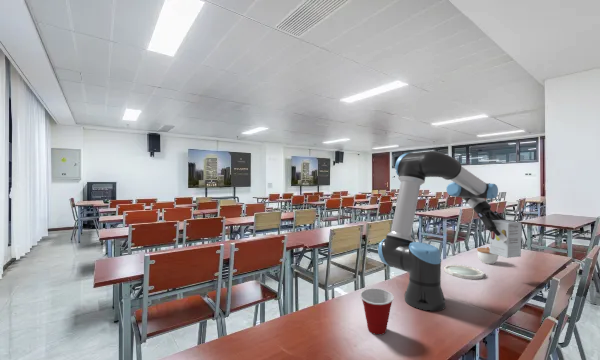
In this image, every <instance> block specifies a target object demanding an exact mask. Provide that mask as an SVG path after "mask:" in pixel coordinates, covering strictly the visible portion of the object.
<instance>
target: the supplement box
mask: <svg viewBox="0 0 600 360" xmlns="http://www.w3.org/2000/svg"><path fill="white" fill-rule="evenodd" d="M493 222H494V224H495V226H496V229H497V228H498V229H499V230H500V231H501V232H502V233H503V234H504V235H505V236H506V237H507V238H508V240H507V241H505V242H502V241H501V240H500V239H499V238H498V236H497V235H496V234H495V233H494V232H493V231H492V232H490V231H489V233H490V234H489V248H490V253H492V254H495V255H498V257H503V258H506V259H511V258H520V257H521V256H522V222H520V221H512V220H508V219H505V220H493Z"/></svg>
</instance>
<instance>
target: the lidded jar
mask: <svg viewBox="0 0 600 360" xmlns="http://www.w3.org/2000/svg"><path fill="white" fill-rule="evenodd" d="M476 249H477V250H476V251H477V252H476V253H477V254H476V255H477V258H478V259H479V260H480V262H481V263H483V264H486V265H494V263H496V262H497V261H498V259H499V255H495V254H492V253H490V246H486V247H477V248H476Z"/></svg>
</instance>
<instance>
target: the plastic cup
mask: <svg viewBox="0 0 600 360" xmlns="http://www.w3.org/2000/svg"><path fill="white" fill-rule="evenodd" d="M359 294H360V295H359V296H360V299H361V301H362V304H363V309H364V314H365V320H366V325H367V330H368V331H369V332H370V333H371V332H372V333H371V334H373V333H375V334H374V335H377V334H381V335H384V334H385V333H386V332H387V329H388V323H389V320H390V313H391V307H392V303H393V300H394V298H395V297H394V294H393V293H392V292H390V291H388V290H386V289H383V288H380V287H379V288H376V287H374V288H373V287H372V288H366V289H364V290H362V291H361V292H360V293H359ZM385 331H386V332H385ZM383 333H384V334H383Z"/></svg>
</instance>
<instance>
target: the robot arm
mask: <svg viewBox="0 0 600 360" xmlns="http://www.w3.org/2000/svg"><path fill="white" fill-rule="evenodd" d="M394 170H395V174H396V175H397V177H398V180H399V181H400V185H399V190H398V195H397V200H396V204H395V205H396V206H395V210H394V214H393V220H392V224H391V230H390V232H388V233H387V234H386V235H385V236H386V237H385V238H383V239H382V240H381V241H380V242H379V244H378V248H377V252H378V258H379V259H380V261H381V262H382V263H383V264H385V265H387V266H388V267H391V268H395V269H398V270H401V271H403V272H406V273H408V277H409V278H408V279H409V281H408V284H407V287H406V291H405V292H404V301H405V303H406V304H407V305H409V306H411V307H413V308H415V307H416V309H418V308H419V310H422V309H423V311H427V310H430V311H429V312H436V310H439V311H442V310H441V309H443V308H444V309H445V308H446V299H445V295H444V292H443V289H442V287H441V286H442V285H441V283H442V282H441V281H442V280H441V279H442V278H441V276H442V273H441V272H442V269H441V267H442V266H441V265H442V257H441V256H442V255H441V251H440V249H439V248H438V247H437V246H435V245H433V244H429V243H427V242H421V241H414V240H413V238H412V230H413V227H414V226H413V225H414V221H415V215H416V210H417V204H418V199H419V194H420V189H421V186H422V185H423V184H425V182H426V181H425V180H426V178H442V179H444V180H445V181H446V180H447V181H451V182H450V183H449V184H447V186H446V190H445V191H446V193H447V194H448V195H449V196H451V197H453V198H455V197H456V198H461V199H464V201H465V202H466V203H467V204H468V205H469V207H470V208H472V209H473V211H474V212H475V213H476V214H477V216H478V217H479V219H480V220H481V222H482V223H483V225H484V226H485V227H486V230H488V231H489V233H490V232H492V231H493V232H494V233H495V234H496V235H497V236H498V238H499V239H500V240H501V241H502V242H505V241H507V240H508V238H507V237H506V236H505V235H504V234H503V233H502V232H501V231H500V230H499V229H498V228H497V229H496V226H495V224H494V222H493V220H506V219H505V218H504V217H503V216H502V215H501V214H499V212H498V211H495V210H494V211H492V210H491V208H492V206H491V205H490V203H488V202H487V201H486V199H487V200H489V199H490V200H491V199H492V200H493V199H496V198H497V196H498V193H499V187H498V185H497V184H495V183H491V182H490V183H487V182H485V181H484V180H482V179H481V178H480V177H477V175H475V174H473V173H472V172H471V171H469V170H468V169H466V168H464V166H462V163H461V162H460V161H459V160H457V159H456V158H454V157H452V156H450V155H448V154H447V153H444V152H440V151H436V150H435V151H434V150H429V151H418V152H415V151H414V152H412V151H411V152H407V153H403V154H401V155H400V156H399V157H397V159H396V161H395V166H394ZM444 309H443V310H444Z"/></svg>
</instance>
